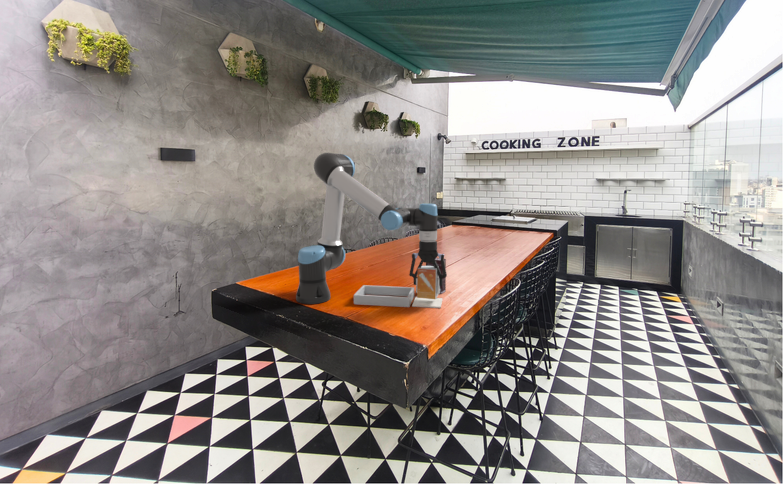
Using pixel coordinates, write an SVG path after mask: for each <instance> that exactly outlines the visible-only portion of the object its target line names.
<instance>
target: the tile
mask: <svg viewBox="0 0 783 484" xmlns="http://www.w3.org/2000/svg"><path fill="white" fill-rule="evenodd" d="M442 303H443V297H437V298H436V299H427V298H417V296H414V298H413V301H412V303H411V304H412V305H411V307H413V308H414V307H415V308H416V307H417V308H431V309H433V308H435V309H442Z"/></svg>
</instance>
